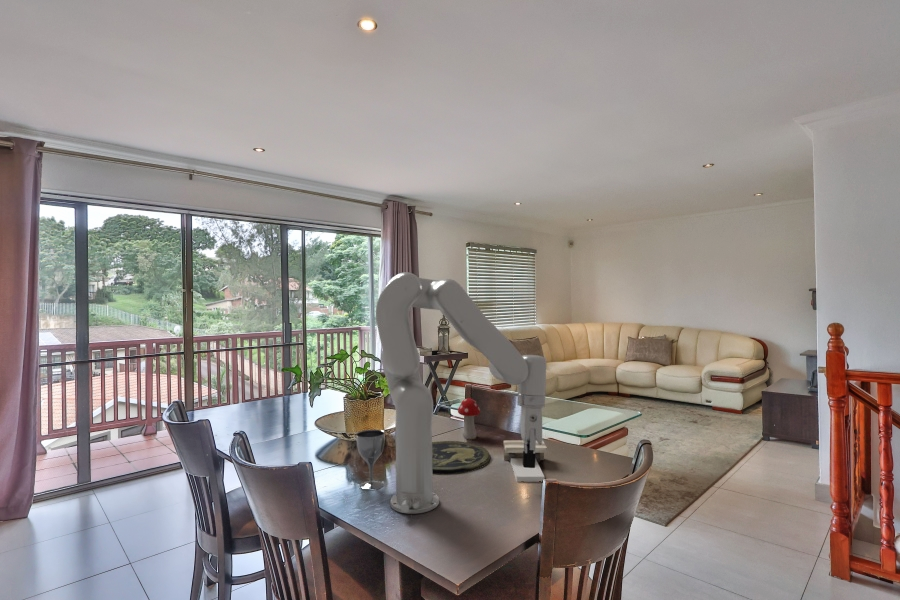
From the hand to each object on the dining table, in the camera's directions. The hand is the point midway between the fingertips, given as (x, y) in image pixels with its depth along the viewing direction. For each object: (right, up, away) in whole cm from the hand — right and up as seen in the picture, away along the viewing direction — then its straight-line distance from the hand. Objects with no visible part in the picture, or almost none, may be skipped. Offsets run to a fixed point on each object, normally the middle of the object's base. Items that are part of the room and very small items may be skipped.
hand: (528, 466), depth 128 cm
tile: (+2, -7, +14) cm, 16 cm away
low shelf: (+3, -7, +22) cm, 23 cm away
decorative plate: (-23, -8, +28) cm, 37 cm away
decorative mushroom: (-14, -7, +52) cm, 54 cm away
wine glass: (-44, -8, +5) cm, 45 cm away
